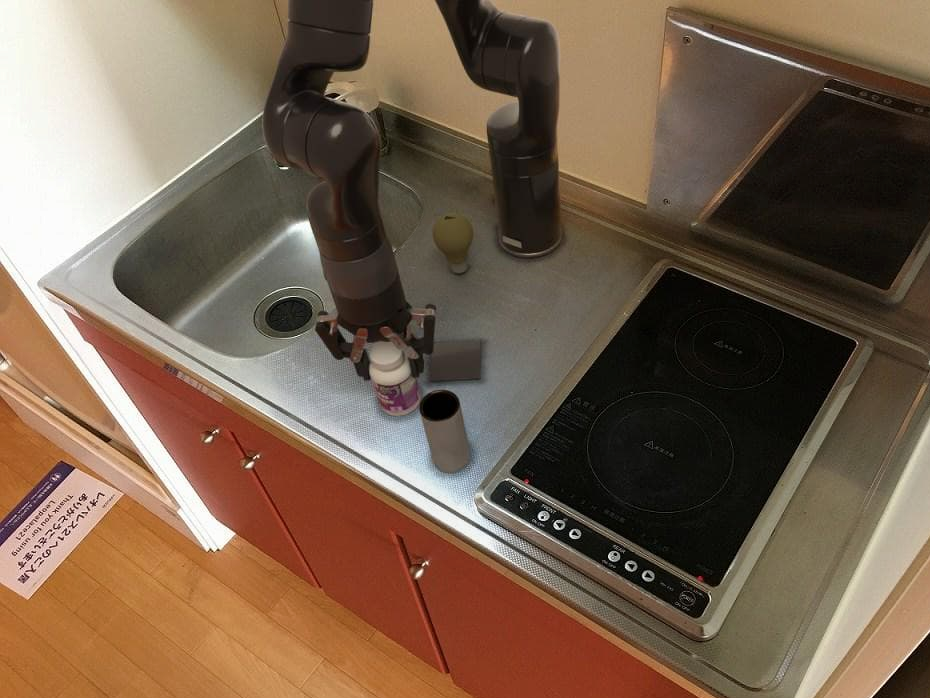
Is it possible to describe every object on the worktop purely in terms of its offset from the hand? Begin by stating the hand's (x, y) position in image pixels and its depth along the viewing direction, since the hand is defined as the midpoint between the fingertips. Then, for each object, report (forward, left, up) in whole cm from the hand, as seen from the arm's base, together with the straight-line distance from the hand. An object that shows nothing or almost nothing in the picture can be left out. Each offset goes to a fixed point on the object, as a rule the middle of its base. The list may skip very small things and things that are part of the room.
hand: (392, 373), depth 100 cm
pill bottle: (0, 0, -6) cm, 6 cm away
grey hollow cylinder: (+11, +3, -6) cm, 13 cm away
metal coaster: (-3, +9, -5) cm, 11 cm away
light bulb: (-19, +15, -6) cm, 25 cm away
